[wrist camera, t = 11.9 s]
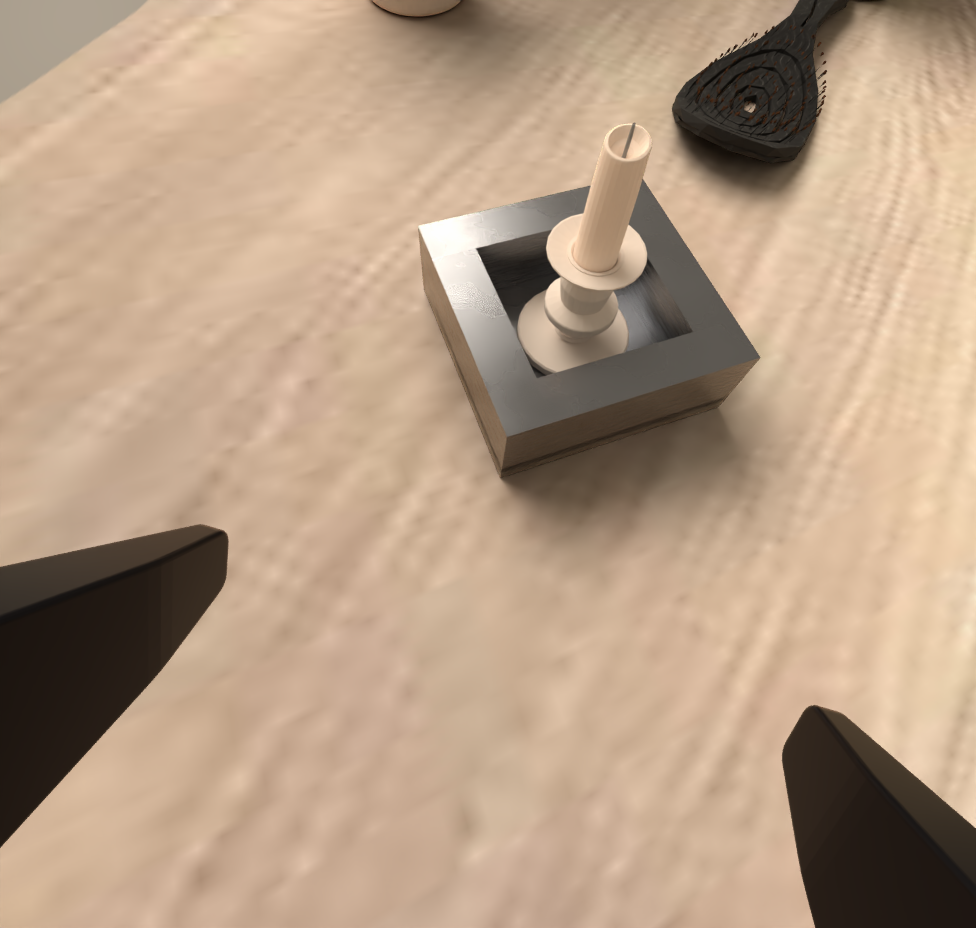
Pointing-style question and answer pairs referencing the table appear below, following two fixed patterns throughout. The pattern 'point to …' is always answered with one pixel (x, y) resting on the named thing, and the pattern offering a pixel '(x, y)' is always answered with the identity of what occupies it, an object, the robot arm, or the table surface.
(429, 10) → the coffee cup
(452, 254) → the socket block
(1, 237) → the table surface
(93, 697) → the robot arm
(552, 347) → the candle
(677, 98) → the hairbrush
